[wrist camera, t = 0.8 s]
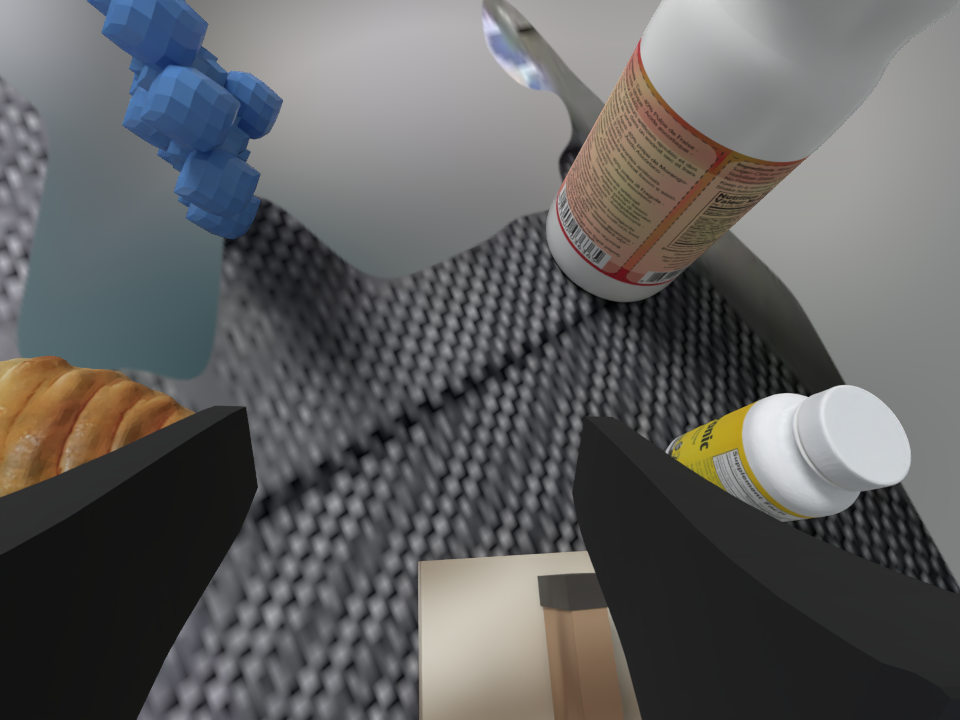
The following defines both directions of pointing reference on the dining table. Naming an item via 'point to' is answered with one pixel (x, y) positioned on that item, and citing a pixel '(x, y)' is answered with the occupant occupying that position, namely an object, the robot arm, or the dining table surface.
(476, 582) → the dial board
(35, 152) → the dining table surface
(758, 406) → the supplement bottle
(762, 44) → the fruit juice
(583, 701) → the pointer lever
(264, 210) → the dining table surface
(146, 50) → the grapes
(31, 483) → the pastry
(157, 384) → the dining table surface
